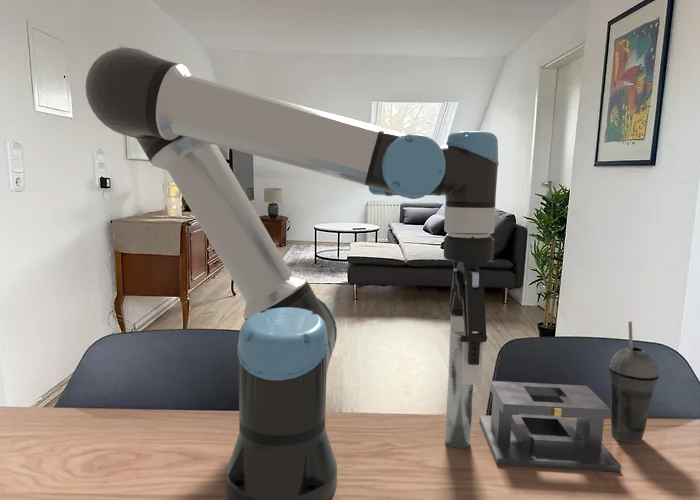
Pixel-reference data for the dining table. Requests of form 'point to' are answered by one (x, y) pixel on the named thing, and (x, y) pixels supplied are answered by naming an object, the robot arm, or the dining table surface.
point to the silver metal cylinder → (458, 398)
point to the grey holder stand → (547, 427)
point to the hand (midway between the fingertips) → (463, 367)
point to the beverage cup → (631, 391)
